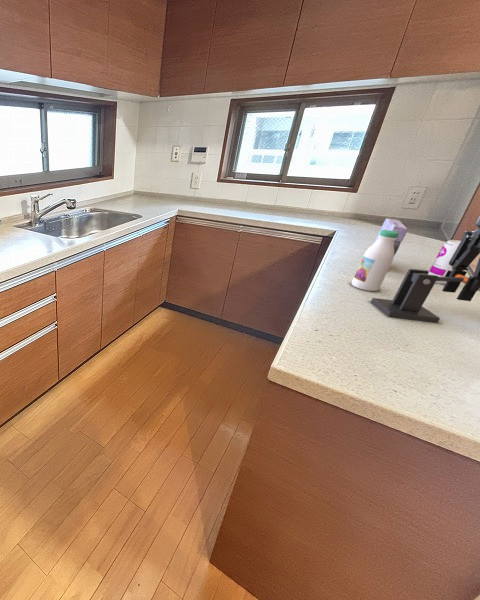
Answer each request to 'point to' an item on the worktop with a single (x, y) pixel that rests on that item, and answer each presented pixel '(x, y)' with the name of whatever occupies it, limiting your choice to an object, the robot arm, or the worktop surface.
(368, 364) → the worktop surface
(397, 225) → the cake pan box
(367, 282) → the milk bottle
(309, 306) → the worktop surface
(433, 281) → the switch base
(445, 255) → the supplement can
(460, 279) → the switch lever
